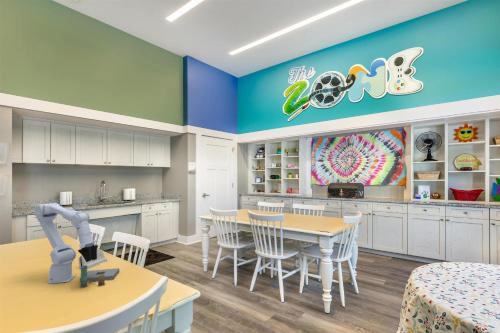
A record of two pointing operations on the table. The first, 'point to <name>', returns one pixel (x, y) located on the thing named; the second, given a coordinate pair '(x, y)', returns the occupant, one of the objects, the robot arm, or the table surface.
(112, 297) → the table surface
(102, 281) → the short pin
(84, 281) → the long pin
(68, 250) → the robot arm
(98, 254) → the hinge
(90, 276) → the hole plate
